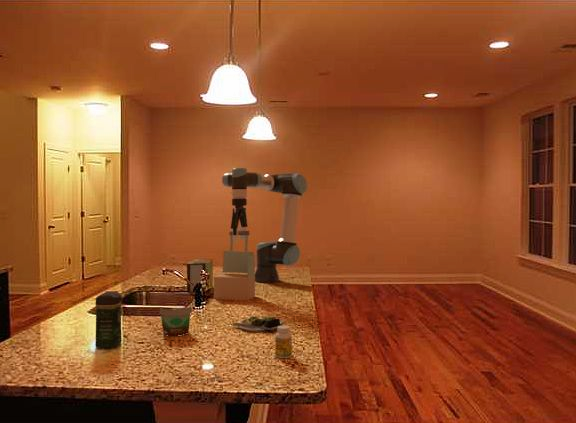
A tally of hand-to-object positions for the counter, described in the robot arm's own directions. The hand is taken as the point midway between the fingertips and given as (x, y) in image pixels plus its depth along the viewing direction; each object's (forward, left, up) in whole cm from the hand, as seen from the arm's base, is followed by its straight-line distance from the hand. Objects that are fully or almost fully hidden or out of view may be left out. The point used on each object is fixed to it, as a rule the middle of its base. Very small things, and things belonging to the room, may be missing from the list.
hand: (239, 240), depth 259 cm
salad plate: (+56, +29, -29) cm, 70 cm away
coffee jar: (+93, -15, -28) cm, 98 cm away
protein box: (-7, -25, -28) cm, 38 cm away
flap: (+2, 0, -5) cm, 6 cm away
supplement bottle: (+89, +46, -28) cm, 104 cm away
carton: (+7, 0, -28) cm, 29 cm away
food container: (+75, +2, -28) cm, 80 cm away
